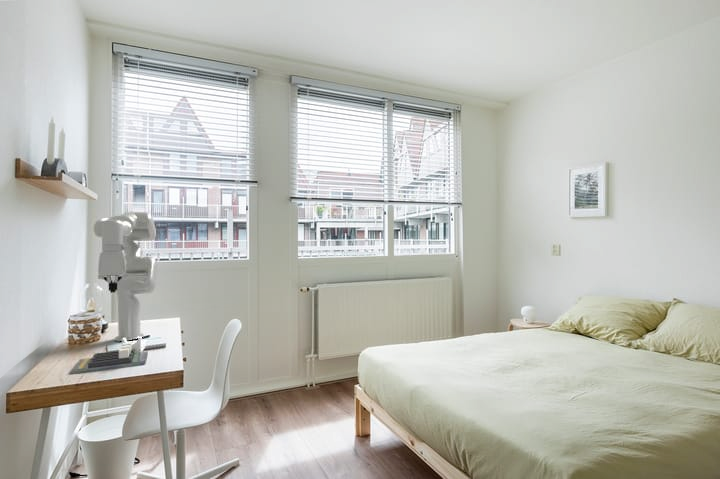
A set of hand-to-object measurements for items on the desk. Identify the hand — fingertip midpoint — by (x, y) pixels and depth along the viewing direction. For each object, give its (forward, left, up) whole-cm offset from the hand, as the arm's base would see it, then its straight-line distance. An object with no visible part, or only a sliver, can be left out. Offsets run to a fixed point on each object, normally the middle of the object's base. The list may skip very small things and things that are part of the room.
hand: (113, 292), depth 168 cm
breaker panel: (+12, +1, -27) cm, 30 cm away
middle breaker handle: (+12, +6, -26) cm, 29 cm away
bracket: (-3, +8, -28) cm, 29 cm away
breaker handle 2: (+17, +5, -26) cm, 31 cm away
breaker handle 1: (+7, +5, -26) cm, 27 cm away
